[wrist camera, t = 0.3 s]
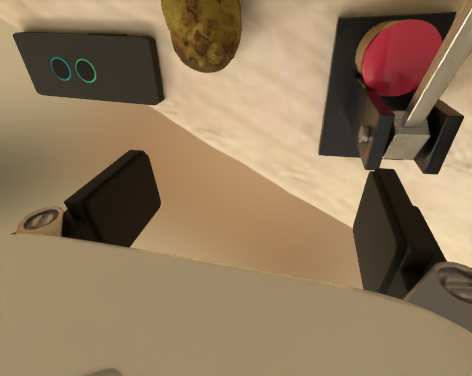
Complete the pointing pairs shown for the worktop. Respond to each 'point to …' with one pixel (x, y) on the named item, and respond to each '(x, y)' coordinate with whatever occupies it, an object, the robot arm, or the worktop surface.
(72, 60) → the smart home device
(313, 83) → the worktop surface
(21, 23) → the worktop surface
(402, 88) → the cake
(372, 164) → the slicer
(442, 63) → the black ball knob
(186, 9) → the potato
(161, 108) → the worktop surface
